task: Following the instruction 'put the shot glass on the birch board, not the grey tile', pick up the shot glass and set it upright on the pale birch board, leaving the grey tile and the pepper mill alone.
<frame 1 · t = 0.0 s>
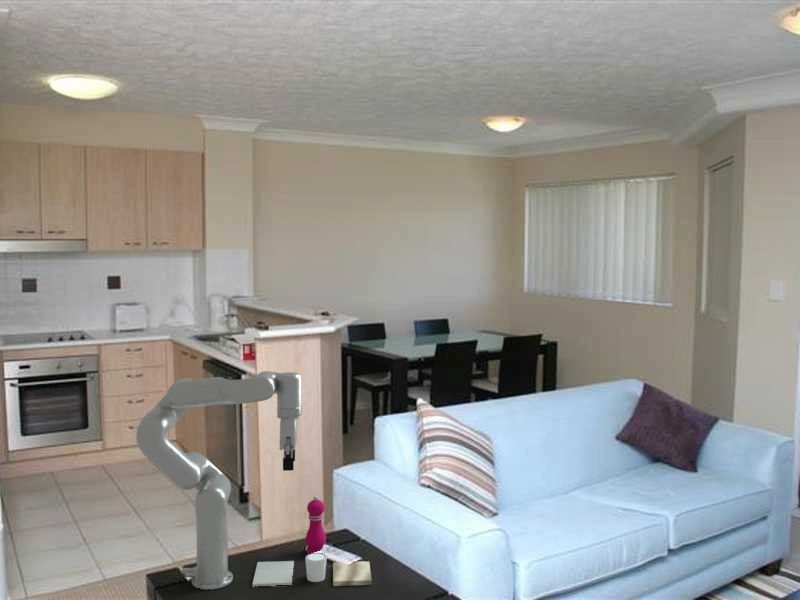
hand: (289, 465, 228), 37 cm above the table, tool pointing down, fingers open, 9 cm apart
birch board: (351, 575, 234), on the table
grey tile: (274, 575, 233), on the table
shot glass: (316, 578, 232), on the table
pepper mill: (315, 552, 251), on the table
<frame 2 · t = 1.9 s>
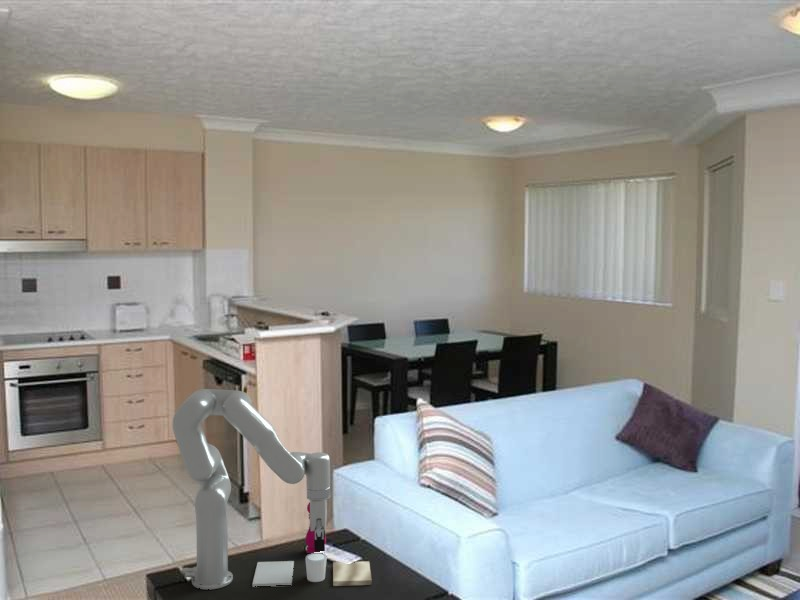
hand: (319, 544, 231), 11 cm above the table, tool pointing down, fingers open, 9 cm apart
nothing on the table moved.
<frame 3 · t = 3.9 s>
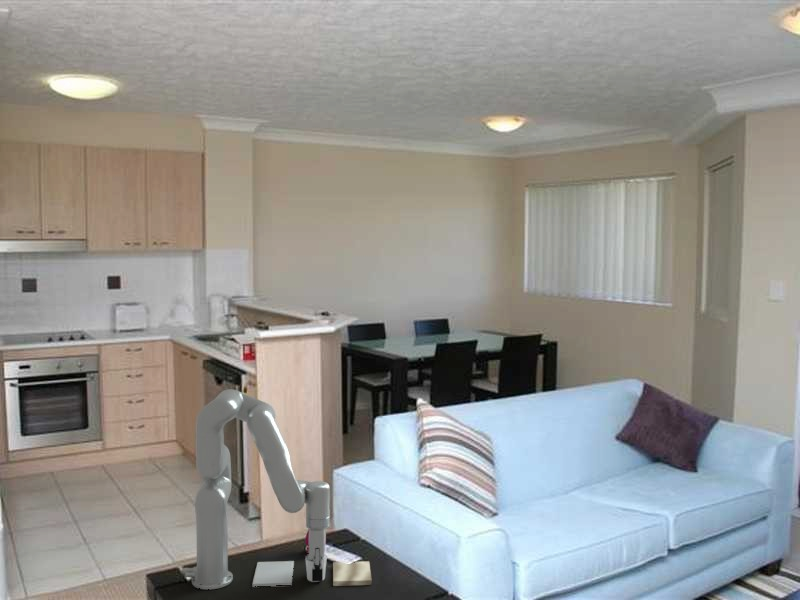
hand: (317, 575, 232), 1 cm above the table, tool pointing down, fingers closed on shot glass, 5 cm apart
shot glass: (316, 578, 232), on the table, touching gripper
everything else where it was.
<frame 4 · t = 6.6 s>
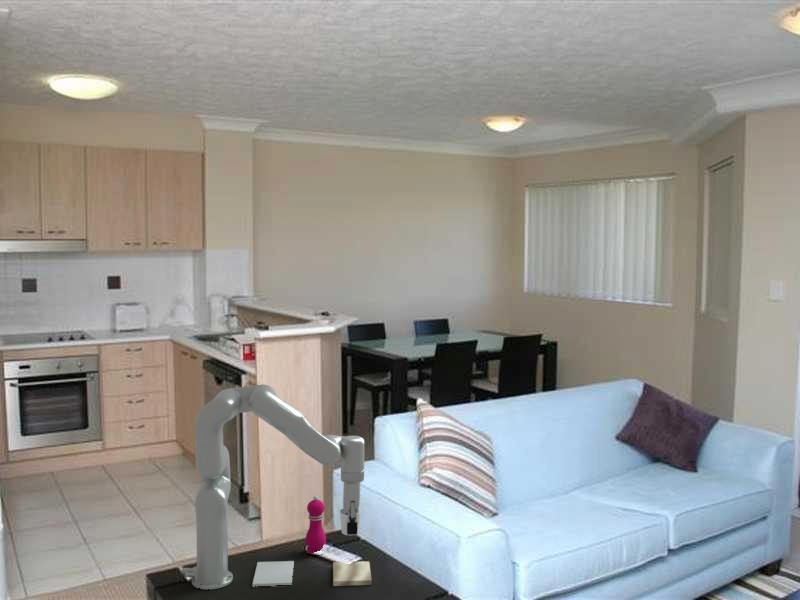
hand: (351, 530, 233), 15 cm above the table, tool pointing down, fingers closed on shot glass, 5 cm apart
shot glass: (350, 532, 233), point 14 cm above the table, touching gripper
everything else where it was.
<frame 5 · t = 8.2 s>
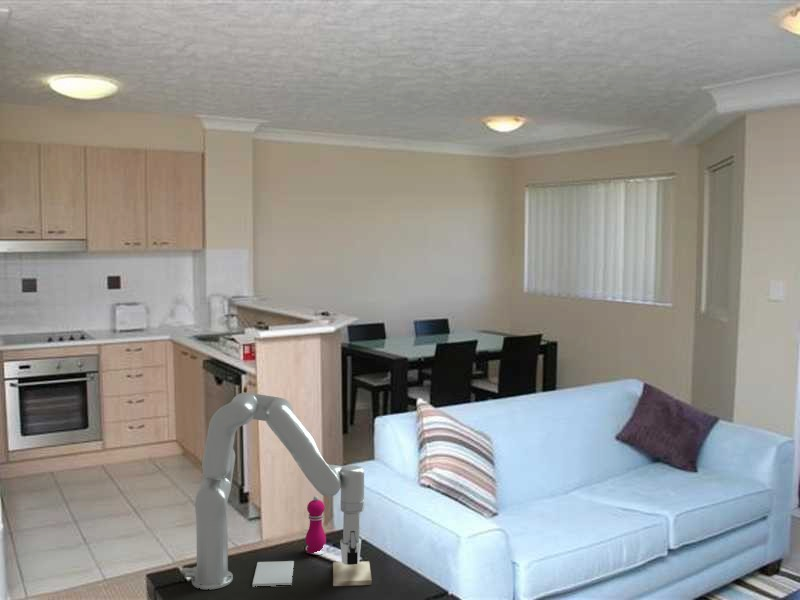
hand: (352, 559, 233), 5 cm above the table, tool pointing down, fingers closed on shot glass, 5 cm apart
shot glass: (350, 562, 233), point 4 cm above the table, touching gripper
everything else where it was.
when the fingers open (3 cm above the table, at t = 9.5 s): shot glass drops 1 cm, resting on birch board.
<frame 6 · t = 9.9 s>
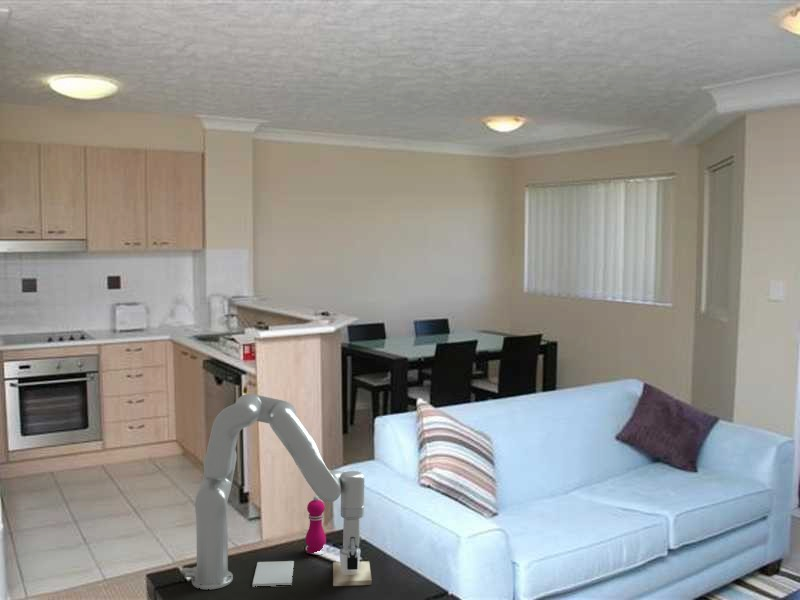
hand: (351, 562, 233), 4 cm above the table, tool pointing down, fingers open, 9 cm apart
shot glass: (349, 572, 233), point 1 cm above the table, touching birch board
everything else where it was.
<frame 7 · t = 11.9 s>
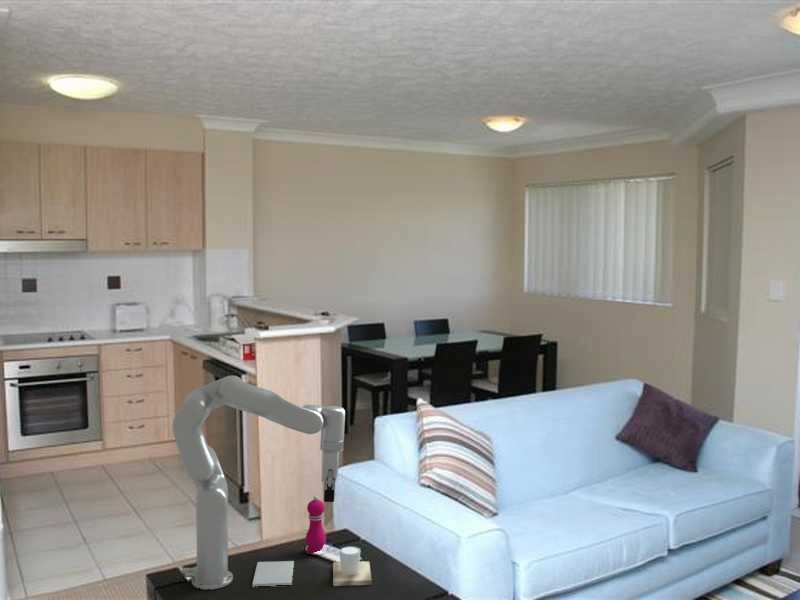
hand: (329, 496, 236), 25 cm above the table, tool pointing down, fingers open, 9 cm apart
nothing on the table moved.
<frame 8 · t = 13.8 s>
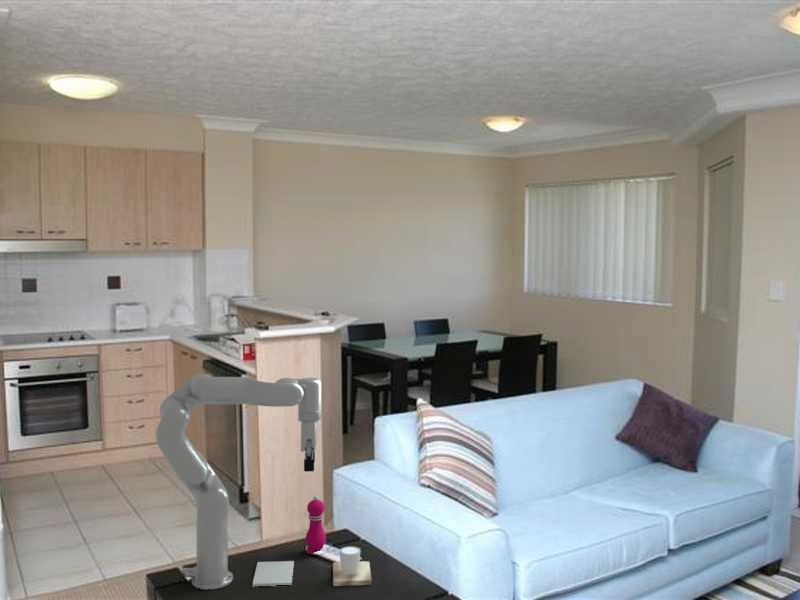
hand: (309, 466, 239), 33 cm above the table, tool pointing down, fingers open, 9 cm apart
nothing on the table moved.
at the end: shot glass inside the target area on the birch board (0.7 cm from its centre), point 1.3 cm above the birch board's base; shot glass tilted 0°; pepper mill moved 0.2 cm from its start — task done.
